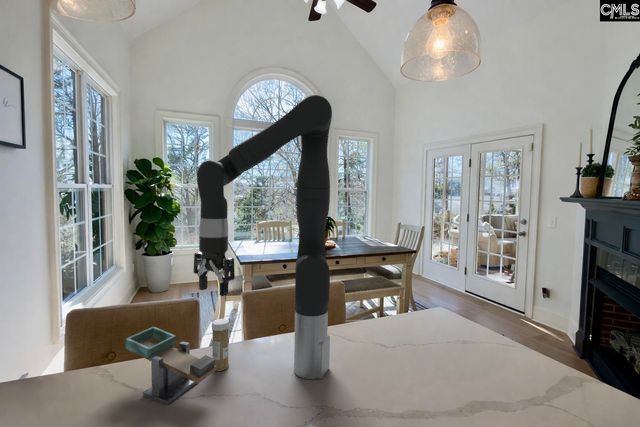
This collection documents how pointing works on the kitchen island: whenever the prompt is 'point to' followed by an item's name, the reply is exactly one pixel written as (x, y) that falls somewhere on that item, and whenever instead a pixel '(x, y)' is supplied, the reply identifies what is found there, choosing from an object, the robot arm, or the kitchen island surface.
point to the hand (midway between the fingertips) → (213, 292)
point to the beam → (170, 354)
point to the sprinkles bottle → (220, 343)
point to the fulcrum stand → (167, 380)
